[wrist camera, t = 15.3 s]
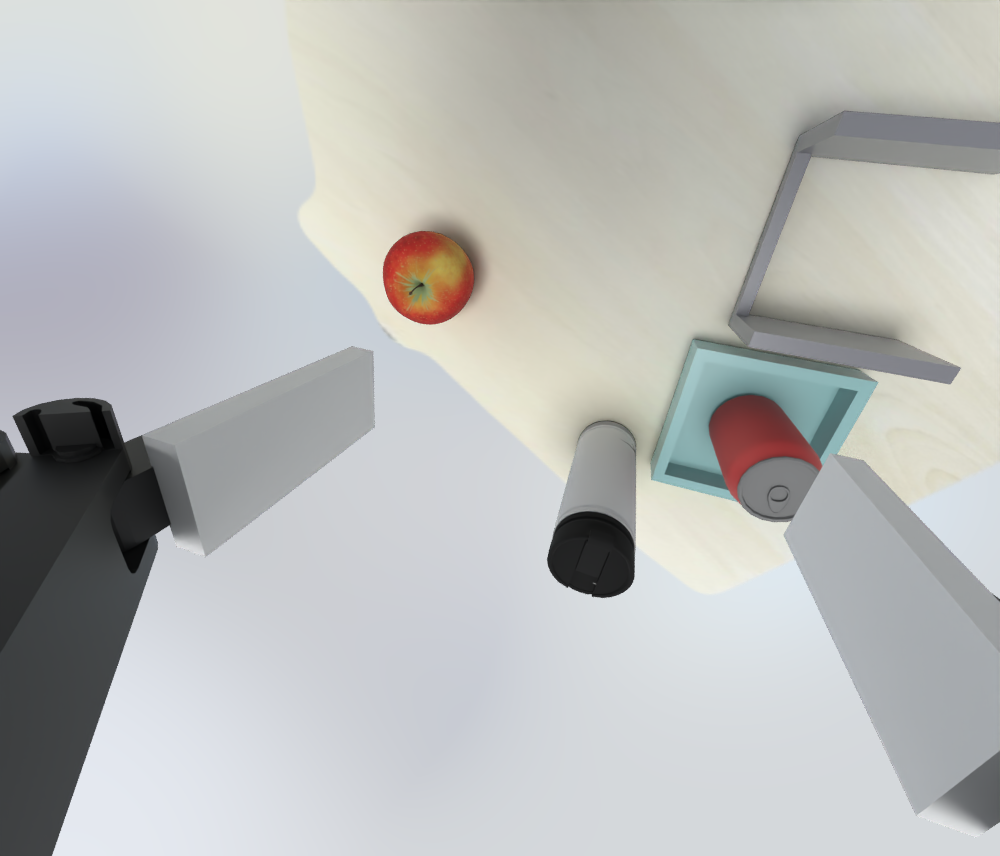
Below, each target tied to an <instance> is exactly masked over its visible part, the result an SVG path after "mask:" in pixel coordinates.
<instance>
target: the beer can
mask: <svg viewBox="0 0 1000 856" xmlns="http://www.w3.org/2000/svg"><path fill="white" fill-rule="evenodd" d="M709 436H710V439H711V442H712V445H713V448H714V451H715V454H716V457H717V460H718V463H719V466H720V469H721V472H722V475H723V478H724V481H725V484H726V486H727V488H728V490H729V492H730V494H731V495H732V496H733V497H734V498H735V499H736V500H737V501H738V502H739V503H740V504H741V505H742V507H743V508H744V509H745V510H746V511H748V512H749V513H750V514H751V515H753V516H755V517H757V518H759V519H762V520H766V521H771V522H788V521H792V519H793V518H794V516H795V514H796V512H797V510H798V509H799V507H800V505H801V503H802V502H803V500H804V498H805V496H806V495H807V493H808V491H809V489H810V488H811V486H812V484H813V482H814V481H815V479H816V477H817V475H818V474H819V472H820V470H821V468H822V467H823V466H822V463H821V461H820V459H819V456H818V455H817V453H816V452H815V451H814V449H813V448H812V447H811V446H810V444H809V443H808V442H807V440H806V439H805V438H804V437H803V435H802V434H801V433H800V431H799V430H798V429H797V428H796V426H795V425H794V424H793V422H792V421H791V420H790V419H789V417H788V416H787V415H786V413H785V412H784V411H783V410H782V408H781V407H780V406H779V405H777V404H776V403H775V402H774V401H772V400H770V399H768V398H766V397H763V396H756V395H746V396H739V397H736V398H733V399H731V400H728V401H727V402H725V403H724V404H723V405H721V406H720V407H719V408H718V409H717V410H716V411H715V413H714V414H713V415H712V417H711V420H710V423H709Z"/></svg>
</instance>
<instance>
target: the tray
mask: <svg viewBox="0 0 1000 856" xmlns="http://www.w3.org/2000/svg"><path fill="white" fill-rule="evenodd" d="M877 384H878V382H877V381H875V380H874V379H872V378H871V377H869V376H868V375H866V374H865V373H863V372H862V371H860V370H857V369H851V368H846V367H840V366H835V365H830V364H824V363H819V362H813V361H808V360H803V359H797V358H792V357H787V356H781V355H776V354H770V353H765V352H760V351H754V350H749V349H744V348H738V347H733V346H727V345H722V344H717V343H711V342H706V341H700V340H695V339H693V341H692V344H691V347H690V350H689V352H688V355H687V358H686V361H685V364H684V367H683V370H682V373H681V376H680V379H679V382H678V385H677V388H676V391H675V393H674V396H673V399H672V402H671V405H670V408H669V411H668V414H667V417H666V420H665V423H664V426H663V429H662V432H661V434H660V437H659V440H658V443H657V446H656V449H655V452H654V455H653V458H652V461H651V480H654V481H658V482H662V483H666V484H670V485H674V486H678V487H682V488H686V489H690V490H693V491H697V492H701V493H705V494H709V495H713V496H717V497H721V498H725V499H729V500H733V501H737V500H736V499H735V498H734V497H733V496H732V495H731V494H730V492H729V490H728V488H727V486H726V484H725V481H724V478H723V475H722V472H721V469H720V466H719V463H718V460H717V457H716V454H715V451H714V448H713V445H712V442H711V439H710V436H709V423H710V420H711V417H712V415H713V414H714V413H715V411H716V410H717V409H718V408H719V407H720V406H721V405H723V404H724V403H725V402H727V401H728V400H731V399H733V398H736V397H739V396H746V395H756V396H763V397H766V398H768V399H770V400H772V401H774V402H775V403H776V404H777V405H779V406H780V407H781V408H782V410H783V411H784V412H785V413H786V415H787V416H788V417H789V419H790V420H791V421H792V422H793V424H794V425H795V426H796V428H797V429H798V430H799V431H800V433H801V434H802V435H803V437H804V438H805V439H806V440H807V442H808V443H809V444H810V446H811V447H812V448H813V449H814V451H815V452H816V453H817V455H818V456H819V459H820V461H821V463H822V466H823V465H824V463H825V461H826V460H827V458H828V456H829V454H830V453H832V454H836V455H837V453H838V452H839V450H840V448H841V446H842V445H843V443H844V441H845V439H846V438H847V436H848V434H849V433H850V431H851V429H852V427H853V426H854V424H855V422H856V420H857V419H858V417H859V415H860V413H861V412H862V410H863V408H864V407H865V405H866V403H867V401H868V400H869V398H870V396H871V394H872V393H873V391H874V389H875V388H876V386H877ZM737 502H738V501H737Z"/></svg>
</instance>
